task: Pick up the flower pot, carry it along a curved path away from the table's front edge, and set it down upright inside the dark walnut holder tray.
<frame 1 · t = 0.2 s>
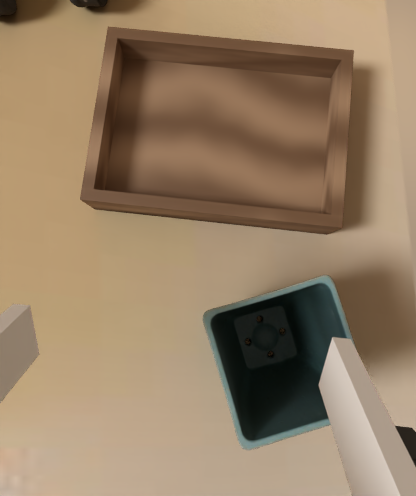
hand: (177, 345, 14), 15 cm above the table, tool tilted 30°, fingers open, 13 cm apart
holder tray: (219, 141, 31), on the table
flower pot: (263, 336, 29), on the table
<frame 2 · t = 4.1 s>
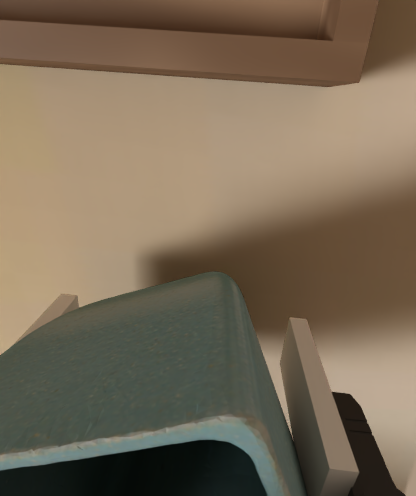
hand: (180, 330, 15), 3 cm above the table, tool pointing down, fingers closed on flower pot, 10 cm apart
flower pot: (181, 324, 15), point 2 cm above the table, touching gripper
when the fingers open (1 cm above the table, at t = 11.0 s): flower pot stays where it is, point 1 cm above the table.
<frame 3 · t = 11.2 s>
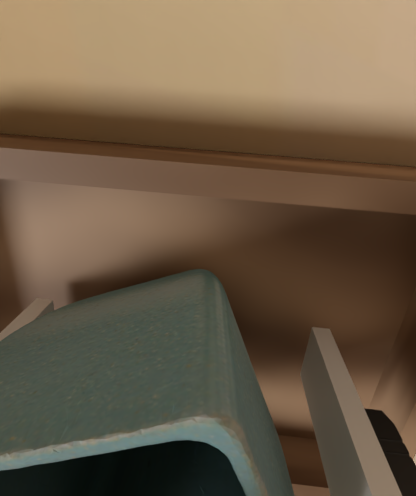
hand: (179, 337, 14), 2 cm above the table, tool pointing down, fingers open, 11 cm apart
holder tray: (184, 311, 16), on the table
flower pot: (168, 322, 15), point 1 cm above the table, touching gripper
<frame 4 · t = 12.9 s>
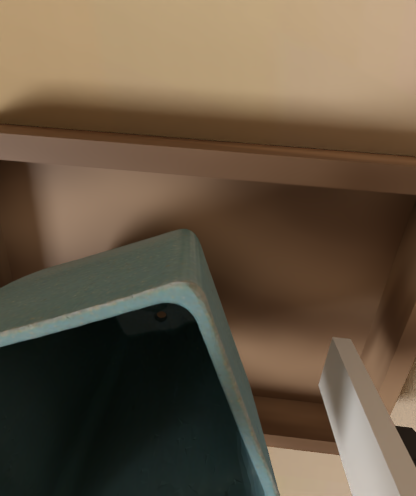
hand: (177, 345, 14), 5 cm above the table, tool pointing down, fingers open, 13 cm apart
holder tray: (191, 285, 18), on the table
flower pot: (150, 287, 17), point 1 cm above the table, touching holder tray
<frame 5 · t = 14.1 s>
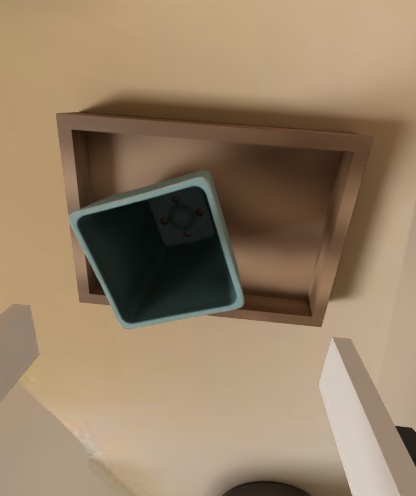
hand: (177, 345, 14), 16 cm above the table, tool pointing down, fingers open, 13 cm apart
holder tray: (207, 218, 28), on the table
flower pot: (182, 215, 27), point 1 cm above the table, touching holder tray
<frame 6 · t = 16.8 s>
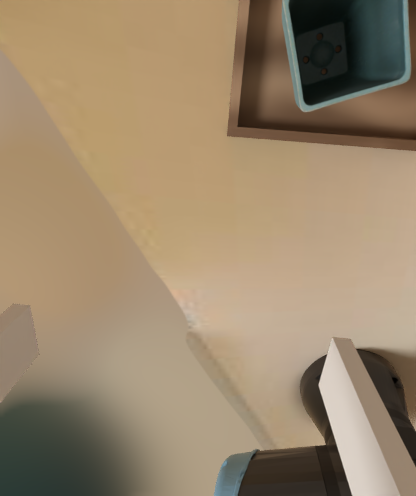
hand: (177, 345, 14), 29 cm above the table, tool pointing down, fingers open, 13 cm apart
holder tray: (337, 62, 33), on the table
flower pot: (319, 56, 33), point 1 cm above the table, touching holder tray
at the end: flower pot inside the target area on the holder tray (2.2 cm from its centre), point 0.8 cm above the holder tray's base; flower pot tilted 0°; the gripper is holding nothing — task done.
